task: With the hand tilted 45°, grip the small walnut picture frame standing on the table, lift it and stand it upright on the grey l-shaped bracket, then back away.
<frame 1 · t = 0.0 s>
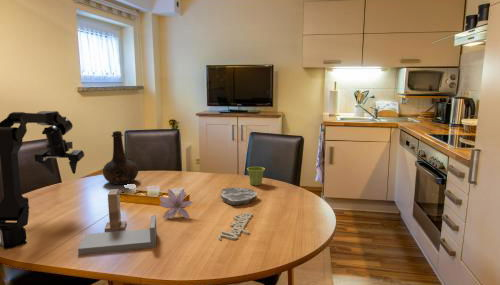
hand: (63, 173, 152), 15 cm above the table, tool pointing down, fingers open, 9 cm apart
picture frame: (115, 227, 134), on the table
brain slice: (238, 199, 167), on the table
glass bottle: (121, 182, 193), on the table
decorative sign: (239, 227, 136), on the table
plant pot: (255, 184, 190), on the table
water lily: (175, 216, 146), on the table
grey l-shaped bracket: (120, 243, 122), on the table
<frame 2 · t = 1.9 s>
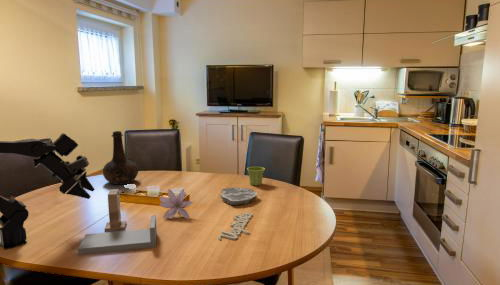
hand: (91, 194, 131), 13 cm above the table, tool tilted 45°, fingers open, 9 cm apart
nothing on the table moved.
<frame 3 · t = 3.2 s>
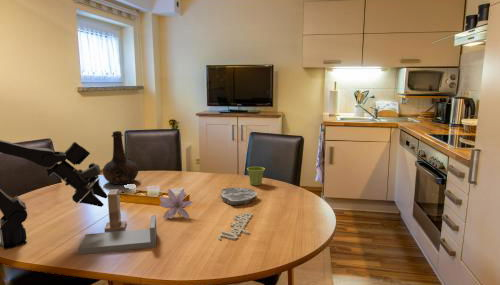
hand: (104, 201, 132), 11 cm above the table, tool tilted 45°, fingers open, 9 cm apart
nothing on the table moved.
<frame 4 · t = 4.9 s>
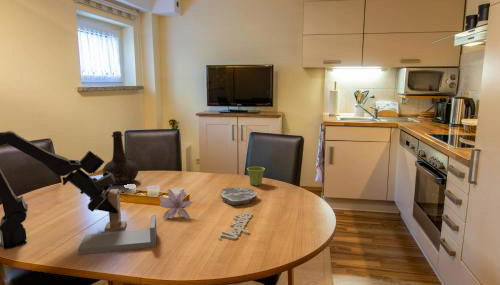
hand: (118, 209, 133), 7 cm above the table, tool tilted 45°, fingers closed on picture frame, 6 cm apart
picture frame: (115, 227, 134), on the table, touching gripper
everything else where it was.
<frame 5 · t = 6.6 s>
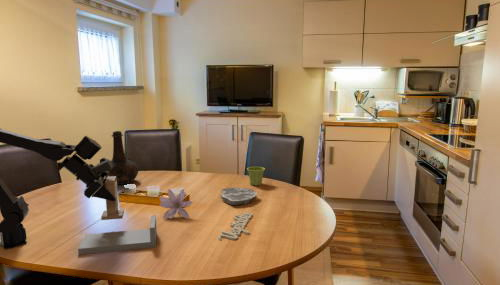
hand: (115, 197, 128), 13 cm above the table, tool tilted 45°, fingers closed on picture frame, 6 cm apart
picture frame: (112, 216, 129), point 6 cm above the table, touching gripper
everything else where it was.
when the fingers open (10 cm above the table, at t = 8.4 s): picture frame drops 1 cm, resting on grey l-shaped bracket.
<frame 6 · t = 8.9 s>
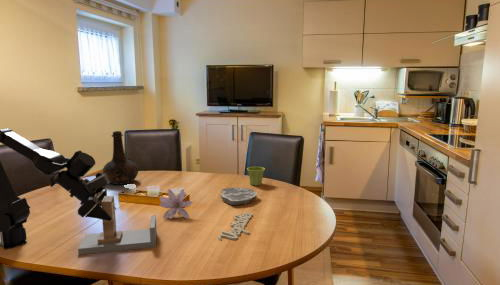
hand: (113, 214, 119), 11 cm above the table, tool tilted 45°, fingers open, 9 cm apart
picture frame: (110, 238, 121), point 2 cm above the table, touching grey l-shaped bracket
everything else where it was.
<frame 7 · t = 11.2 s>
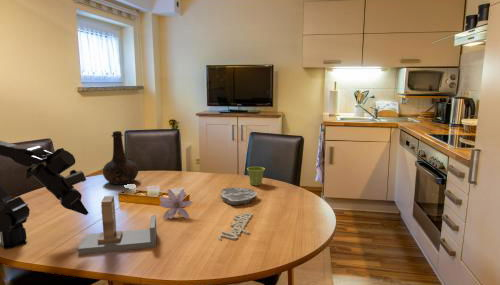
hand: (84, 211, 123), 10 cm above the table, tool tilted 35°, fingers open, 9 cm apart
nothing on the table moved.
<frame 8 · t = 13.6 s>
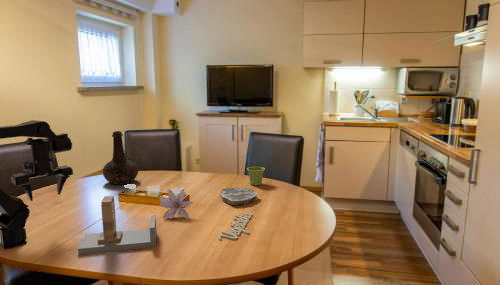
hand: (45, 197, 129), 13 cm above the table, tool pointing down, fingers open, 9 cm apart
nothing on the table moved.
at the end: picture frame inside the target area (0.0 cm from its centre), point 2.0 cm above the table; picture frame tilted 0°; the gripper is holding nothing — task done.
